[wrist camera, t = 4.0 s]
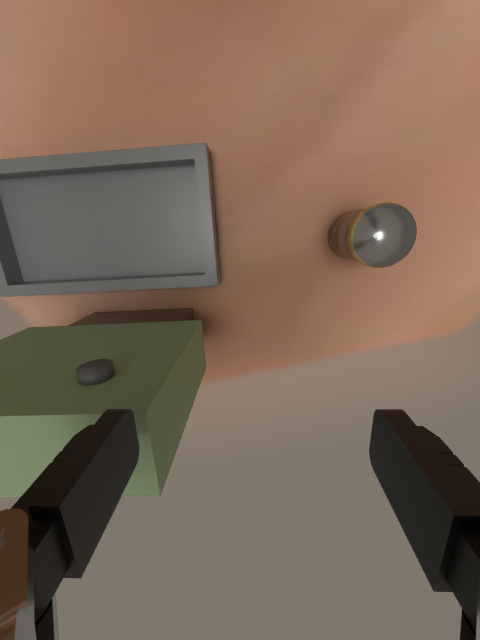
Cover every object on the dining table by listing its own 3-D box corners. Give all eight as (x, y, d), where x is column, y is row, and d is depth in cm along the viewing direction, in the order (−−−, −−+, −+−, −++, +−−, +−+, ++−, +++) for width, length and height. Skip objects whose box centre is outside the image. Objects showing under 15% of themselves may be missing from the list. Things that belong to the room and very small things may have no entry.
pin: (327, 212, 25) (354, 204, 18) (376, 209, 25) (422, 199, 18) (326, 260, 26) (351, 269, 20) (372, 258, 26) (414, 266, 19)
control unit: (73, 302, 29) (-200, 407, 11) (211, 296, 28) (143, 398, 11) (83, 348, 30) (-146, 502, 13) (215, 343, 29) (161, 501, 12)
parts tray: (-13, 169, 25) (-41, 162, 23) (210, 151, 24) (205, 142, 22) (21, 291, 28) (0, 296, 26) (220, 281, 27) (217, 285, 25)
